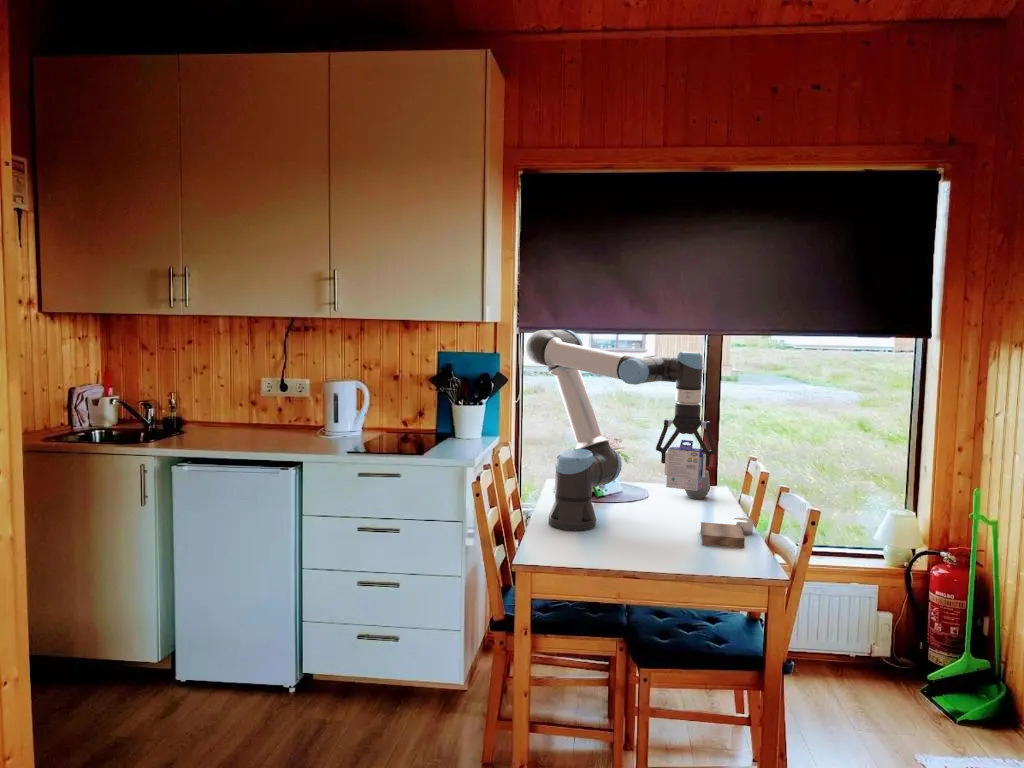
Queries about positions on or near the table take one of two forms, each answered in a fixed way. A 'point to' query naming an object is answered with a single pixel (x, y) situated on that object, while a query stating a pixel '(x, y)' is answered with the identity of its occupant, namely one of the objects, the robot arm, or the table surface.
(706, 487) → the cup
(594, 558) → the table surface
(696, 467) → the ink cartridge box
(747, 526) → the silver metal knob
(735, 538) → the podium
